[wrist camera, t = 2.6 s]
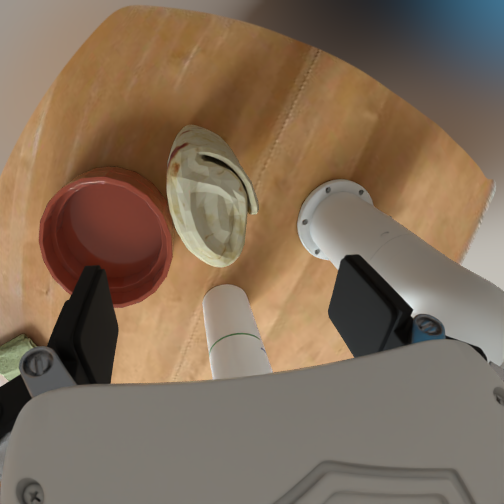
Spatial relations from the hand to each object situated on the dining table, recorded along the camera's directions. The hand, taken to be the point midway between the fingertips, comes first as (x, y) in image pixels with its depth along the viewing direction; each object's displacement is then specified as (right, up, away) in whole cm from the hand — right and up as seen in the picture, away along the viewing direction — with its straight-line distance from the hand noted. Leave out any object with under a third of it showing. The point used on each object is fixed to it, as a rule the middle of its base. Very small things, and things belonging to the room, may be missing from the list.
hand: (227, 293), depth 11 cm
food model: (-6, +13, +24) cm, 28 cm away
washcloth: (-45, -21, +33) cm, 60 cm away
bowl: (-18, +5, +26) cm, 31 cm away
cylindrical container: (-3, -6, +35) cm, 36 cm away
